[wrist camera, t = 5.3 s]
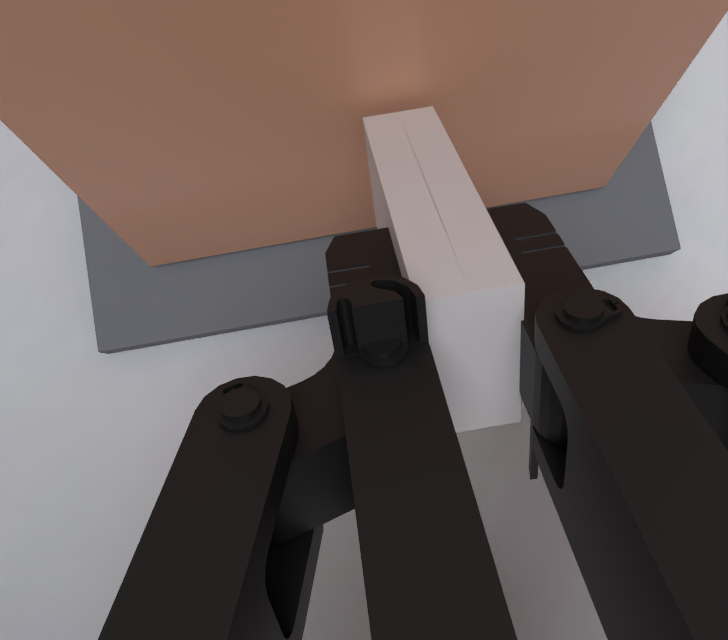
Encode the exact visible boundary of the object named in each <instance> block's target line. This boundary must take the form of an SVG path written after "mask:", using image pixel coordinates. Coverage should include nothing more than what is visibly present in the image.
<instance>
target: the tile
mask: <svg viewBox="0 0 728 640" xmlns="http://www.w3.org/2000/svg"><path fill="white" fill-rule="evenodd" d="M727 11H728V0H0V120H1V121H2V122H3V123H4V124H5V125H6V126H7V127H8V128H9V129H10V130H11V131H12V132H13V133H14V134H15V135H16V136H17V137H18V138H19V139H20V140H21V141H22V142H23V143H24V144H25V145H27V146H28V147H29V148H30V149H31V150H32V151H33V152H34V153H35V154H36V155H37V156H38V157H39V158H40V159H41V160H42V161H43V162H44V163H45V164H46V165H47V166H48V167H49V168H50V169H51V170H52V171H53V172H54V173H55V174H56V175H57V176H58V177H59V178H60V179H61V180H62V181H63V182H64V183H65V184H66V185H67V186H68V187H70V188H71V189H72V190H73V191H74V192H75V193H76V194H77V195H78V196H79V197H80V198H81V199H82V200H83V201H84V202H85V203H86V204H87V205H88V206H89V207H90V208H91V209H92V210H93V211H94V212H95V213H96V214H97V215H98V216H99V217H100V218H101V219H102V220H103V221H104V222H105V223H106V224H107V225H108V226H109V227H110V228H111V229H113V230H114V231H115V232H116V233H117V234H118V235H119V236H120V237H121V238H122V239H123V240H124V241H125V242H126V243H127V244H128V245H129V246H130V247H131V248H132V249H133V250H134V251H135V252H136V253H137V254H138V255H139V256H140V257H141V258H142V259H143V260H144V261H145V262H146V263H147V264H148V265H149V266H150V267H151V266H157V265H163V264H168V263H174V262H180V261H185V260H191V259H197V258H202V257H208V256H214V255H220V254H225V253H231V252H237V251H242V250H248V249H254V248H259V247H265V246H271V245H276V244H282V243H288V242H293V241H299V240H305V239H310V238H316V237H322V236H327V235H333V234H339V233H345V232H350V231H356V230H362V229H367V228H373V227H377V226H376V218H375V211H374V203H373V195H372V187H371V180H370V172H369V164H368V157H367V149H366V141H365V134H364V126H363V117H369V116H375V115H382V114H388V113H394V112H400V111H406V110H412V109H418V108H424V107H430V106H433V107H434V109H435V111H436V113H437V115H438V117H439V119H440V121H441V123H442V125H443V127H444V128H445V130H446V132H447V134H448V136H449V138H450V140H451V142H452V144H453V146H454V148H455V150H456V152H457V154H458V155H459V157H460V159H461V161H462V163H463V165H464V167H465V169H466V171H467V173H468V175H469V177H470V179H471V181H472V183H473V184H474V186H475V188H476V190H477V192H478V194H479V196H480V198H481V200H482V202H483V204H484V206H485V208H487V207H492V206H498V205H504V204H509V203H515V202H521V201H526V200H532V199H538V198H543V197H549V196H555V195H560V194H566V193H572V192H577V191H583V190H589V189H595V188H600V187H605V185H606V184H607V183H608V181H609V180H610V178H611V177H612V175H613V174H614V173H615V171H616V170H617V168H618V167H619V165H620V164H621V163H622V161H623V160H624V158H625V157H626V155H627V154H628V153H629V151H630V150H631V148H632V147H633V145H634V144H635V142H636V141H637V140H638V138H639V137H640V135H641V134H642V132H643V131H644V130H645V128H646V127H647V125H648V124H649V122H650V121H651V120H652V118H653V117H654V115H655V114H656V112H657V111H658V110H659V108H660V107H661V105H662V104H663V102H664V101H665V100H666V98H667V97H668V95H669V94H670V92H671V91H672V90H673V88H674V87H675V85H676V84H677V82H678V81H679V80H680V78H681V77H682V75H683V74H684V72H685V71H686V69H687V68H688V67H689V65H690V64H691V62H692V61H693V59H694V58H695V57H696V55H697V54H698V52H699V51H700V49H701V48H702V47H703V45H704V44H705V42H706V41H707V39H708V38H709V37H710V35H711V34H712V32H713V31H714V29H715V28H716V27H717V25H718V24H719V22H720V21H721V19H722V18H723V17H724V15H725V14H726V12H727Z"/></svg>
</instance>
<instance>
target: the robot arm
mask: <svg viewBox="0 0 728 640" xmlns="http://www.w3.org/2000/svg"><path fill="white" fill-rule="evenodd" d="M363 126H364V134H365V141H366V149H367V157H368V164H369V172H370V180H371V187H372V195H373V203H374V211H375V218H376V226H377V229H375V230H369V231H363V232H357V233H351V234H345V235H339V236H334V238H333V240H332V241H331V243H330V245H329V247H328V249H327V251H326V252H325V257H326V265H327V272H328V281H329V289H330V297H331V298H330V299H329V303H328V308H327V315H328V320H329V325H330V330H331V335H332V340H333V345H334V350H335V351H334V353H333V355H332V358H331V359H330V360H329V362H328V363H327V364H326V365H325V367H324V368H322V369H321V370H320V371H319V372H317V373H316V374H315V375H313V376H311V377H309V378H308V379H306V380H304V381H302V382H300V383H297V384H295V385H293V386H290V387H288V388H285V386H284V385H282V384H280V383H279V382H277V381H275V380H273V379H272V378H265V377H258V376H251V377H244V378H237V379H234V380H232V381H229V382H227V383H224V384H222V385H220V386H218V387H217V388H215V389H214V390H213V391H211V392H210V393H209V394H208V395H206V396H205V397H204V398H203V400H202V401H201V403H200V404H199V406H198V407H197V409H196V410H195V412H194V415H193V417H192V419H191V422H190V424H189V426H188V429H187V431H186V433H185V436H184V438H183V440H182V443H181V445H180V447H179V450H178V452H177V455H176V457H175V459H174V462H173V464H172V466H171V469H170V471H169V473H168V476H167V478H166V480H165V483H164V485H163V487H162V490H161V492H160V495H159V497H158V499H157V502H156V504H155V506H154V509H153V511H152V513H151V516H150V518H149V520H148V523H147V525H146V528H145V530H144V532H143V535H142V537H141V539H140V542H139V544H138V546H137V549H136V551H135V553H134V556H133V558H132V560H131V563H130V565H129V568H128V570H127V572H126V575H125V577H124V579H123V582H122V584H121V586H120V589H119V591H118V593H117V596H116V598H115V601H114V603H113V605H112V608H111V610H110V612H109V615H108V617H107V619H106V622H105V624H104V626H103V629H102V631H101V633H100V636H99V638H98V640H302V636H303V631H304V626H305V621H306V616H307V611H308V606H309V601H310V595H311V590H312V585H313V580H314V575H315V570H316V565H317V560H318V554H319V549H320V544H321V539H322V534H323V524H324V523H326V522H328V521H330V520H332V519H334V518H336V517H338V516H341V515H343V514H345V513H347V512H349V511H351V510H353V509H355V512H356V520H357V528H358V536H359V543H360V551H361V559H362V567H363V575H364V583H365V591H366V599H367V607H368V615H369V623H370V630H371V638H372V640H517V637H516V634H515V631H514V627H513V624H512V620H511V617H510V614H509V610H508V607H507V604H506V600H505V597H504V594H503V590H502V587H501V583H500V580H499V577H498V573H497V570H496V567H495V563H494V560H493V556H492V553H491V550H490V546H489V543H488V540H487V536H486V533H485V529H484V526H483V523H482V519H481V516H480V513H479V509H478V506H477V502H476V499H475V496H474V492H473V489H472V486H471V482H470V479H469V476H468V472H467V469H466V465H465V462H464V459H463V455H462V452H461V449H460V445H459V442H458V438H457V435H456V433H458V432H464V431H470V430H476V429H482V428H487V427H493V426H499V425H505V424H511V423H517V422H521V414H522V400H523V402H524V405H525V407H526V409H527V412H528V414H529V417H530V419H531V427H530V453H529V472H530V480H531V479H537V476H538V465H539V467H540V470H541V472H542V475H543V477H544V480H545V483H546V485H547V488H548V490H549V493H550V495H551V498H552V500H553V503H554V505H555V508H556V510H557V513H558V515H559V518H560V520H561V523H562V525H563V528H564V531H565V533H566V536H567V538H568V541H569V543H570V546H571V548H572V551H573V553H574V556H575V558H576V561H577V563H578V566H579V568H580V571H581V573H582V576H583V578H584V581H585V584H586V586H587V589H588V591H589V594H590V596H591V599H592V601H593V604H594V606H595V609H596V611H597V614H598V616H599V619H600V621H601V624H602V626H603V629H604V631H605V634H606V637H607V639H608V640H728V294H723V295H718V296H713V297H711V298H709V299H707V300H706V301H704V302H702V303H701V304H700V305H699V307H698V308H697V310H696V312H695V314H694V318H693V321H675V320H656V319H647V318H640V317H636V316H634V314H633V313H632V311H631V310H630V308H629V307H628V306H627V305H626V304H625V303H623V302H622V301H621V300H620V299H619V298H618V297H615V296H613V295H611V294H609V293H606V292H604V291H600V290H595V289H594V288H593V287H592V285H591V284H590V282H589V280H588V279H587V277H586V276H585V274H584V273H583V271H582V270H581V268H580V267H579V265H578V264H577V262H576V260H575V259H574V257H573V256H572V254H571V253H570V251H569V250H568V248H567V247H565V245H564V242H563V240H562V239H561V237H560V236H559V234H556V230H555V228H554V227H553V225H552V223H551V222H550V220H549V219H548V217H547V216H546V214H544V213H542V212H541V211H539V210H537V209H536V208H534V207H532V206H531V205H529V204H527V203H519V204H513V205H507V206H501V207H495V208H489V209H486V208H485V206H484V204H483V202H482V200H481V198H480V196H479V194H478V192H477V190H476V188H475V186H474V184H473V183H472V181H471V179H470V177H469V175H468V173H467V171H466V169H465V167H464V165H463V163H462V161H461V159H460V157H459V155H458V154H457V152H456V150H455V148H454V146H453V144H452V142H451V140H450V138H449V136H448V134H447V132H446V130H445V128H444V127H443V125H442V123H441V121H440V119H439V117H438V115H437V113H436V111H435V109H434V107H433V106H430V107H424V108H418V109H412V110H406V111H400V112H394V113H388V114H382V115H375V116H369V117H363Z"/></svg>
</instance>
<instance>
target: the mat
mask: <svg viewBox="0 0 728 640" xmlns="http://www.w3.org/2000/svg"><path fill="white" fill-rule="evenodd" d="M77 196H78V195H77ZM78 203H79V211H80V218H81V226H82V233H83V240H84V248H85V255H86V263H87V270H88V278H89V285H90V293H91V300H92V308H93V315H94V323H95V330H96V338H97V345H98V352H101V353H107V354H110V353H116V352H121V351H127V350H132V349H138V348H144V347H149V346H155V345H161V344H166V343H172V342H178V341H183V340H189V339H194V338H200V337H206V336H211V335H217V334H223V333H228V332H234V331H240V330H245V329H251V328H256V327H262V326H268V325H273V324H279V323H285V322H290V321H296V320H302V319H307V318H313V317H319V316H324V315H327V308H328V303H329V299H330V298H331V297H330V289H329V281H328V272H327V265H326V257H325V252H326V251H327V249H328V247H329V245H330V243H331V241H332V240H333V238H334V236H339V235H345V234H351V233H357V232H363V231H369V230H375V229H377V227H373V228H367V229H362V230H356V231H350V232H345V233H339V234H333V235H327V236H322V237H316V238H310V239H305V240H299V241H293V242H288V243H282V244H276V245H271V246H265V247H259V248H254V249H248V250H242V251H237V252H231V253H225V254H220V255H214V256H208V257H202V258H197V259H191V260H185V261H180V262H174V263H168V264H163V265H157V266H151V267H150V266H149V265H148V264H147V263H146V262H145V261H144V260H143V259H142V258H141V257H140V256H139V255H138V254H137V253H136V252H135V251H134V250H133V249H132V248H131V247H130V246H129V245H128V244H127V243H126V242H125V241H124V240H123V239H122V238H121V237H120V236H119V235H118V234H117V233H116V232H115V231H114V230H113V229H111V228H110V227H109V226H108V225H107V224H106V223H105V222H104V221H103V220H102V219H101V218H100V217H99V216H98V215H97V214H96V213H95V212H94V211H93V210H92V209H91V208H90V207H89V206H88V205H87V204H86V203H85V202H84V201H83V200H82V199H81V198H80V197H79V196H78ZM519 203H527V204H529V205H531V206H532V207H534V208H536V209H537V210H539V211H541V212H542V213H544V214H546V216H547V217H548V219H549V220H550V222H551V223H552V225H553V227H554V228H555V230H556V234H559V236H560V237H561V239H562V240H563V242H564V245H565V247H567V248H568V250H569V251H570V253H571V254H572V256H573V257H574V259H575V260H576V262H577V264H578V265H579V267H580V268H581V270H583V269H589V268H595V267H600V266H606V265H612V264H617V263H623V262H629V261H634V260H640V259H646V258H651V257H657V256H662V255H668V254H671V253H673V252H675V251H677V250H679V249H681V248H680V243H679V239H678V235H677V231H676V226H675V222H674V218H673V214H672V209H671V205H670V201H669V197H668V192H667V188H666V184H665V180H664V175H663V171H662V167H661V163H660V158H659V154H658V150H657V146H656V141H655V137H654V133H653V129H652V124H651V121H650V122H649V124H648V125H647V127H646V128H645V130H644V131H643V132H642V134H641V135H640V137H639V138H638V140H637V141H636V142H635V144H634V145H633V147H632V148H631V150H630V151H629V153H628V154H627V155H626V157H625V158H624V160H623V161H622V163H621V164H620V165H619V167H618V168H617V170H616V171H615V173H614V174H613V175H612V177H611V178H610V180H609V181H608V183H607V184H606V185H605V187H600V188H595V189H589V190H583V191H577V192H572V193H566V194H560V195H555V196H549V197H543V198H538V199H532V200H526V201H521V202H515V203H509V204H504V205H498V206H492V207H487V208H486V209H489V208H495V207H501V206H507V205H513V204H519Z"/></svg>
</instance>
